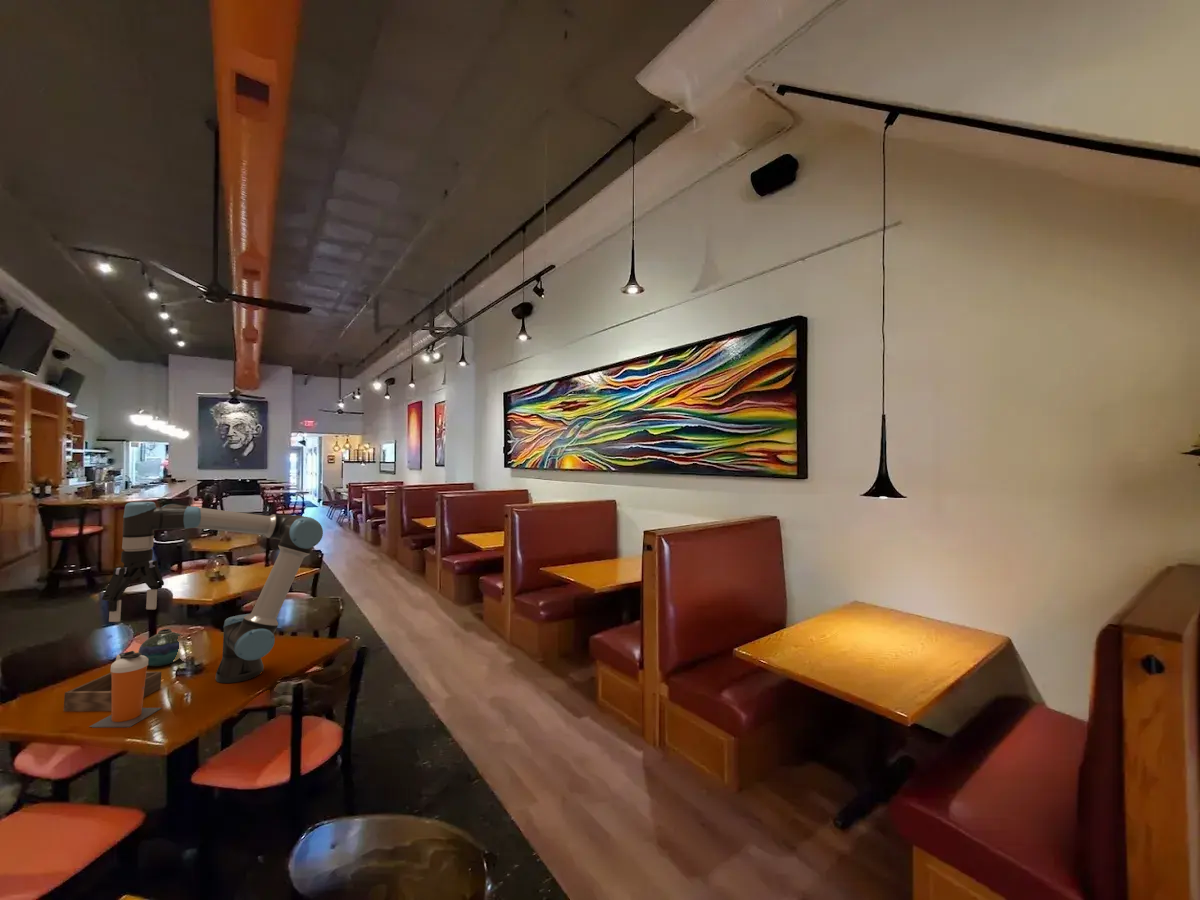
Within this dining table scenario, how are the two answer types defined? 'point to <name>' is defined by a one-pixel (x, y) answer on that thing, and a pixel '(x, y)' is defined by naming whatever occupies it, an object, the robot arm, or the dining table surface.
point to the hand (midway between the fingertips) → (133, 615)
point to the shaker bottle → (127, 686)
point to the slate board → (109, 723)
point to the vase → (161, 648)
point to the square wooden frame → (102, 693)
